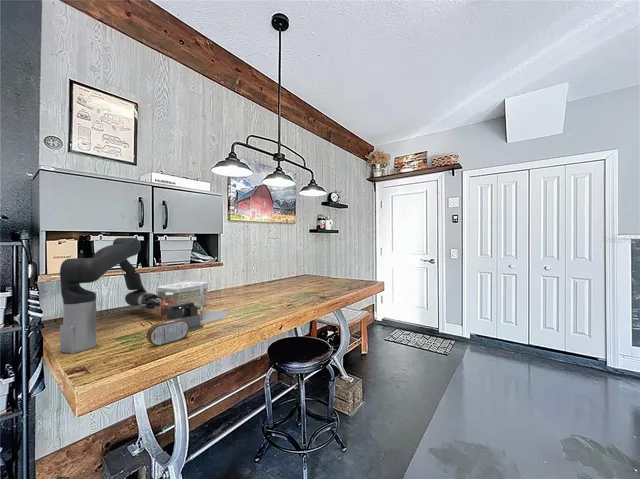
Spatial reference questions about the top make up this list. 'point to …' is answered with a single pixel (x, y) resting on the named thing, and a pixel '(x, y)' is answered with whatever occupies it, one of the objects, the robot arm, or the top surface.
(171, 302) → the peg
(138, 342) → the top surface
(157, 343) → the tin
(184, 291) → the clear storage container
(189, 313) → the block
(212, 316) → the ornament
